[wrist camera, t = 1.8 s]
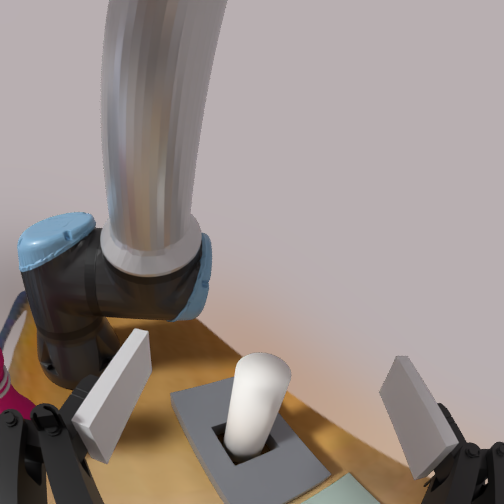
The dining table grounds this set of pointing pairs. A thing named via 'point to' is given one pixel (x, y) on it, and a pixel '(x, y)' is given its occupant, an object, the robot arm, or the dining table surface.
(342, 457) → the dining table surface
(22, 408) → the pink bowling pin
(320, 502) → the pad
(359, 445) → the dining table surface
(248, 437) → the plug
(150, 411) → the dining table surface
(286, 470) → the grey holed plate
